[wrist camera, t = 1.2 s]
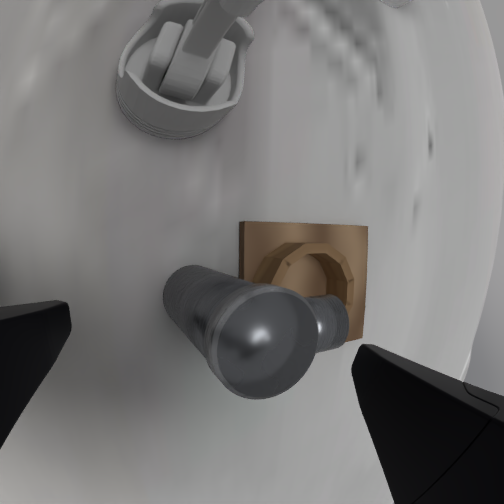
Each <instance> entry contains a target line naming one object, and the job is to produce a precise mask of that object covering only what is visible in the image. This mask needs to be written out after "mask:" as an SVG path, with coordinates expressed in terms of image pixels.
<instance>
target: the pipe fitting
mask: <svg viewBox="0 0 504 504" xmlns="http://www.w3.org/2000/svg"><path fill="white" fill-rule="evenodd" d="M163 302H164V306H165V309H166V311H167V313H168V314H169V315H170V317H171V318H172V319H173V320H174V322H175V323H176V324H177V325H178V326H179V328H180V329H181V330H182V331H183V332H184V334H185V335H186V336H187V337H188V338H189V340H190V341H191V342H192V343H193V344H194V345H195V347H196V348H197V349H198V350H199V351H200V352H201V353H202V355H203V356H204V357H205V358H206V360H207V363H208V365H209V367H210V369H211V370H212V372H213V373H214V374H215V375H216V377H217V378H218V379H219V380H220V381H221V382H222V383H223V385H224V386H225V387H226V388H227V389H229V390H230V391H231V392H233V393H234V394H236V395H238V396H241V397H244V398H248V399H266V398H270V397H274V396H276V395H279V394H281V393H283V392H285V391H286V390H288V389H289V388H291V387H292V386H293V385H295V384H296V383H297V382H298V381H299V380H300V379H301V378H302V377H303V375H304V374H305V373H306V371H307V370H308V368H309V367H310V365H311V363H312V361H313V359H314V356H315V353H319V352H323V351H327V350H331V349H335V348H339V347H340V346H342V345H343V344H344V342H345V341H346V339H347V336H348V333H349V316H348V313H347V310H346V307H345V305H344V304H343V302H342V301H341V300H340V299H339V298H338V297H337V296H335V295H332V294H327V295H318V296H309V297H303V296H301V295H300V294H298V293H297V292H295V291H293V290H290V289H287V288H284V287H280V286H276V285H273V284H267V283H256V284H255V283H252V282H249V281H246V280H243V279H240V278H236V277H233V276H230V275H227V274H224V273H221V272H218V271H215V270H211V269H208V268H205V267H202V266H198V265H190V266H185V267H183V268H180V269H179V270H177V271H176V272H174V273H173V274H172V275H171V276H170V278H169V279H168V281H167V282H166V285H165V288H164V292H163Z"/></svg>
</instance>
